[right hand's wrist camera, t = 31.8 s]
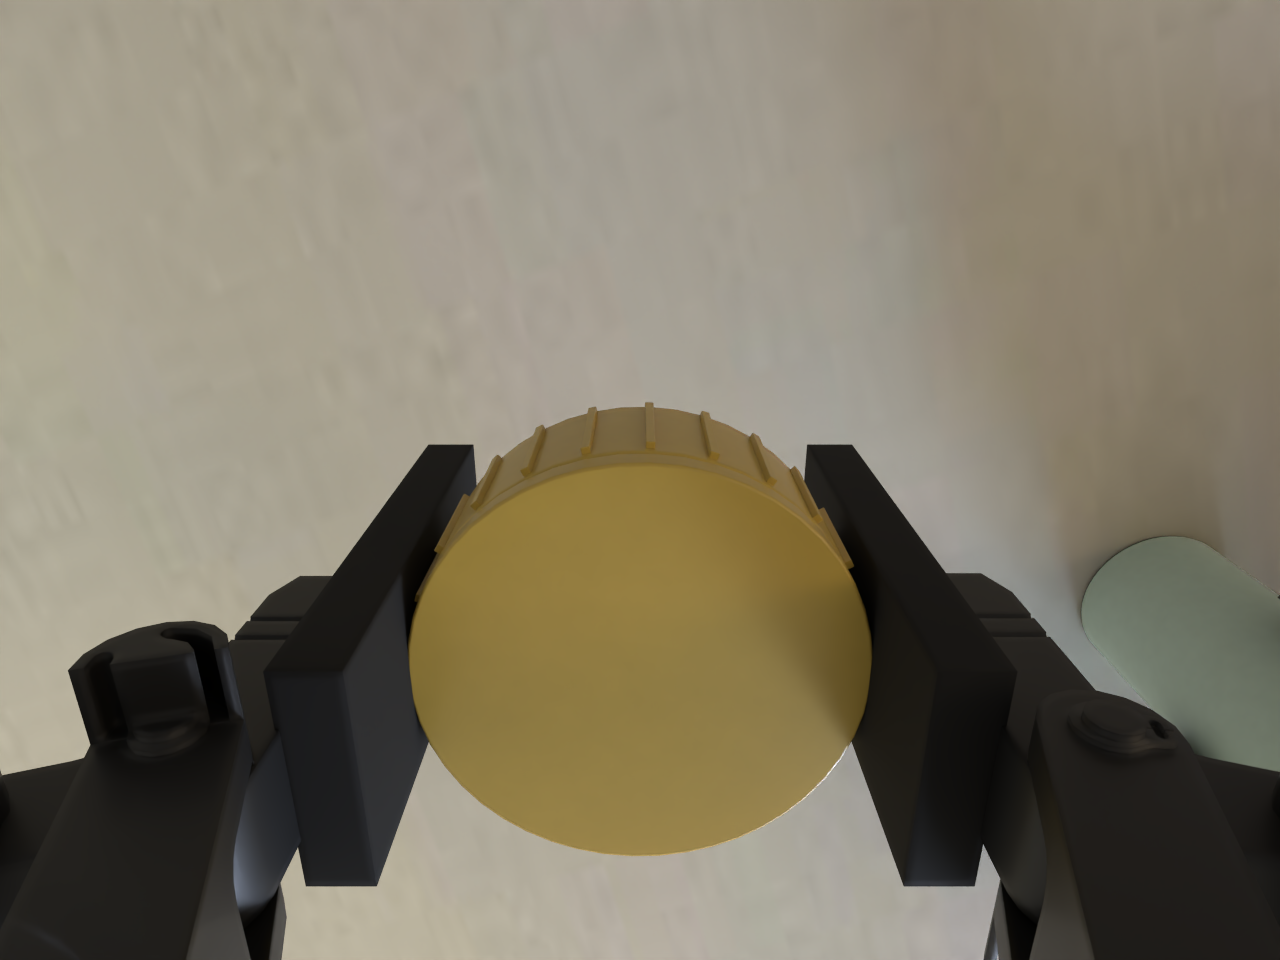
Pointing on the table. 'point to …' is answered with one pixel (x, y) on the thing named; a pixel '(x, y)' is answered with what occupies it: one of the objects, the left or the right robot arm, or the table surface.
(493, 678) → the lid
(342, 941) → the table surface
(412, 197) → the table surface
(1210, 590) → the jar
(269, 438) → the table surface
